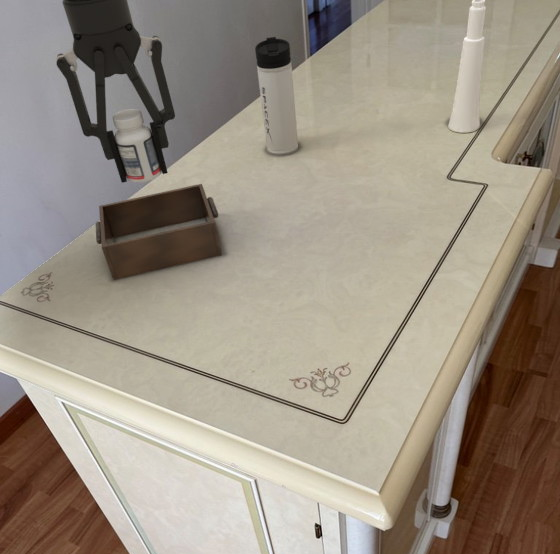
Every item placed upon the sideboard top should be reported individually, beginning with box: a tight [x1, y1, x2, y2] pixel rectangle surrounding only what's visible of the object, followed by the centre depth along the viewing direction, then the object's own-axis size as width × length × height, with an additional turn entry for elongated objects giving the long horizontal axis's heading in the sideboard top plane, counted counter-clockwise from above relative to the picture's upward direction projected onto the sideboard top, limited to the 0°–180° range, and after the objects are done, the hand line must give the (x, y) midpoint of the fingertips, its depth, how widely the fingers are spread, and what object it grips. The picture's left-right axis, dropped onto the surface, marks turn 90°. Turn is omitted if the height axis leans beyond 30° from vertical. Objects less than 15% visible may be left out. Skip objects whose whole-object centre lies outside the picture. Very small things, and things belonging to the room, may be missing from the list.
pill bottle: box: [112, 108, 162, 184], centre depth 83 cm, size 5×5×9 cm
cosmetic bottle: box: [447, 0, 487, 134], centre depth 110 cm, size 6×6×22 cm
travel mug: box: [254, 36, 299, 157], centre depth 111 cm, size 6×7×20 cm
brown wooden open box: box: [95, 183, 223, 281], centre depth 94 cm, size 19×13×7 cm
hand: (144, 173), depth 86 cm, fingers closed on pill bottle, 5 cm apart
